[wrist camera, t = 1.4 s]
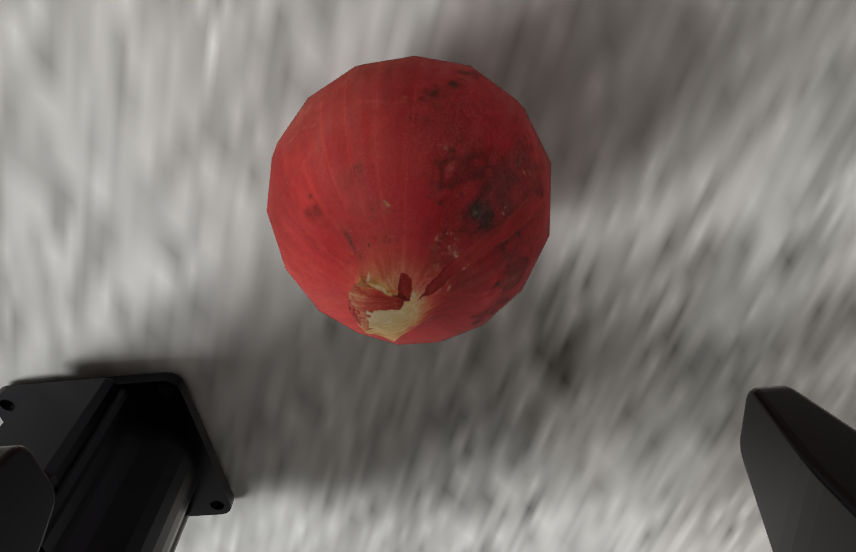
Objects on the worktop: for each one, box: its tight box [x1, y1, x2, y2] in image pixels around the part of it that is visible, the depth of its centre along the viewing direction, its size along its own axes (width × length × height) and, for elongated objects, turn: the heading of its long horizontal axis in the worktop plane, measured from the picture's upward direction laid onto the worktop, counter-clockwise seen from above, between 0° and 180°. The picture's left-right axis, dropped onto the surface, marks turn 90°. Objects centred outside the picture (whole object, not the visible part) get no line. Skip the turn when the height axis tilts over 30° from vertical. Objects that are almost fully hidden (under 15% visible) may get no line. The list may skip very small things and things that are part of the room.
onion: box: [267, 56, 551, 345], centre depth 14 cm, size 6×6×8 cm
